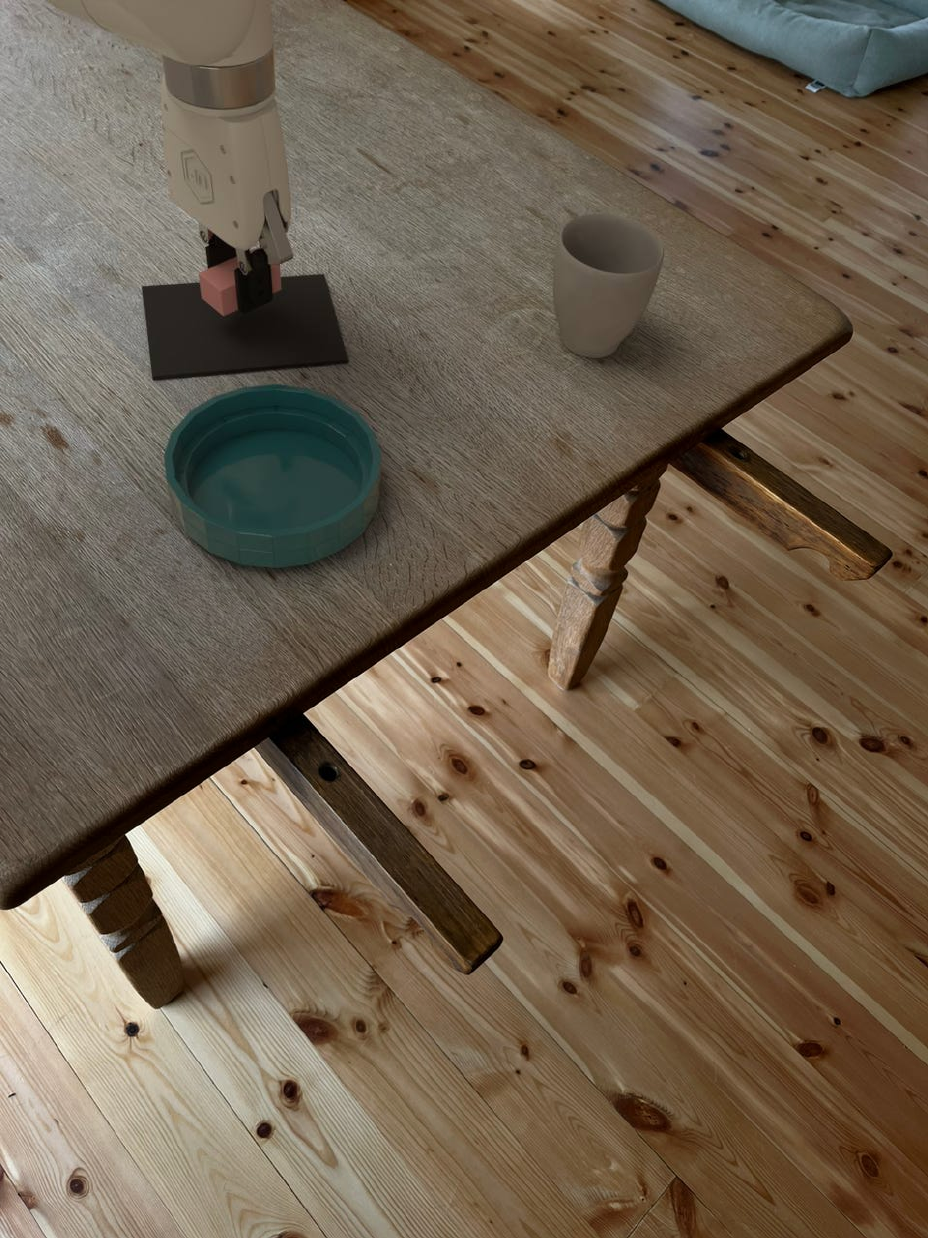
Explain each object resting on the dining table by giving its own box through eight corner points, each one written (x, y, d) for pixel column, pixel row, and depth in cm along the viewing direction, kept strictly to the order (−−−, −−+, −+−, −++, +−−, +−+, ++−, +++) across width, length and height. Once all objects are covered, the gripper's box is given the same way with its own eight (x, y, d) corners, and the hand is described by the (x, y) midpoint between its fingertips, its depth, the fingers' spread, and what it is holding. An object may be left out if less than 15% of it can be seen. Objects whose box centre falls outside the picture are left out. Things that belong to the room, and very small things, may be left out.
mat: (152, 380, 81) (151, 376, 81) (142, 289, 88) (141, 285, 88) (348, 363, 85) (348, 359, 85) (324, 277, 92) (324, 273, 91)
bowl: (182, 586, 69) (174, 548, 66) (164, 434, 78) (156, 394, 75) (397, 557, 73) (400, 520, 70) (357, 414, 81) (358, 376, 78)
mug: (649, 369, 88) (679, 273, 81) (553, 373, 87) (573, 276, 79) (614, 285, 95) (637, 190, 88) (523, 287, 94) (540, 191, 86)
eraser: (223, 316, 82) (220, 290, 80) (201, 298, 83) (198, 272, 81) (282, 289, 85) (280, 263, 83) (259, 272, 86) (257, 246, 84)
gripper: (104, 34, 71) (146, 263, 85) (248, 136, 65) (266, 363, 79) (194, 9, 74) (219, 233, 89) (338, 103, 68) (339, 326, 83)
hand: (241, 292), depth 84 cm, fingers closed on eraser, 3 cm apart
